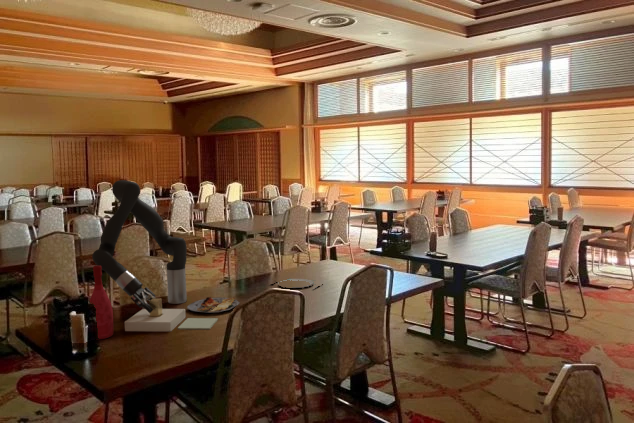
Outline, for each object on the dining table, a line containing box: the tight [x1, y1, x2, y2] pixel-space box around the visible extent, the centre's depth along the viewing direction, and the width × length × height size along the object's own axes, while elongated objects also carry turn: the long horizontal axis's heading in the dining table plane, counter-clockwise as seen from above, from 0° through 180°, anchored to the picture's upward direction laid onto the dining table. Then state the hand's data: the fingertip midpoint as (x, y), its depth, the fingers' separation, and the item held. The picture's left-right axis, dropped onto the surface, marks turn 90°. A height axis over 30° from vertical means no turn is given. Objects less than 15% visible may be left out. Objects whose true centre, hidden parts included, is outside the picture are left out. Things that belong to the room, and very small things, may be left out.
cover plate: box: [124, 308, 187, 332], centre depth 240 cm, size 20×20×4 cm
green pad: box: [177, 317, 219, 330], centre depth 239 cm, size 14×14×1 cm
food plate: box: [186, 296, 240, 314], centre depth 265 cm, size 25×23×4 cm
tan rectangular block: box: [148, 297, 163, 317], centre depth 240 cm, size 5×4×11 cm
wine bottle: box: [89, 264, 115, 340], centre depth 224 cm, size 10×10×30 cm
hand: (155, 308), depth 240 cm, fingers open, 8 cm apart
